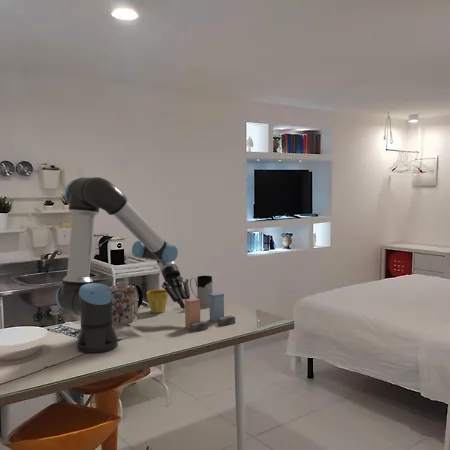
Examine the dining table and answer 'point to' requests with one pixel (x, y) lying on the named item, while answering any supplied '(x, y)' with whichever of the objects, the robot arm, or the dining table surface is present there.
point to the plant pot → (157, 300)
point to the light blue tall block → (216, 306)
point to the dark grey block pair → (204, 325)
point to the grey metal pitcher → (203, 290)
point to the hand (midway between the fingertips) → (188, 313)
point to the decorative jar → (124, 304)
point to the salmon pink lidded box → (192, 311)
